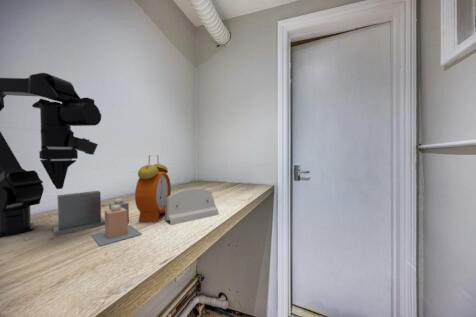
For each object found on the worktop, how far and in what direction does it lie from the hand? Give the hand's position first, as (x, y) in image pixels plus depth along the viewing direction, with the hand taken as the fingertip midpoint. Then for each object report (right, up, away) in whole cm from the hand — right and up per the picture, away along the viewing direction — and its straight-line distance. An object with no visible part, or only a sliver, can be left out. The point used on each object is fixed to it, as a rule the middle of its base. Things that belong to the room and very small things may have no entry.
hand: (57, 186), depth 52 cm
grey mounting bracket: (+31, -12, +13) cm, 36 cm away
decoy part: (+12, -12, +7) cm, 18 cm away
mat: (+16, -12, -1) cm, 20 cm away
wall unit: (+3, -12, +4) cm, 13 cm away
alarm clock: (+20, -12, +13) cm, 27 cm away
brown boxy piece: (+16, -12, -1) cm, 20 cm away
